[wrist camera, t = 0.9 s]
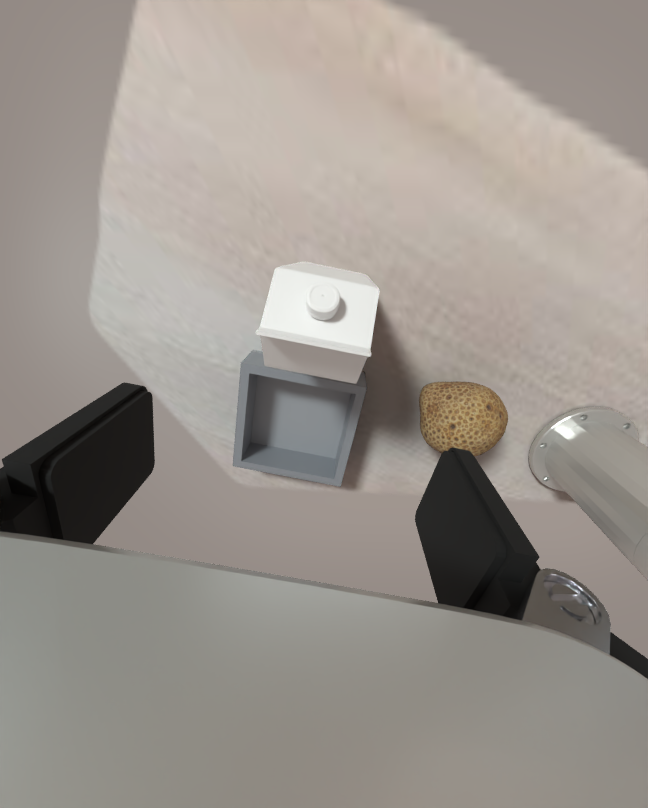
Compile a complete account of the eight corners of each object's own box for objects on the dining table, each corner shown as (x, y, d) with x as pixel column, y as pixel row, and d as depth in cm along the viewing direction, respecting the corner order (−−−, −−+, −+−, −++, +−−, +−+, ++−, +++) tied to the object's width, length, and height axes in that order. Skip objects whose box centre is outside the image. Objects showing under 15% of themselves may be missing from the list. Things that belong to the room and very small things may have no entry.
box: (364, 372, 40) (366, 387, 35) (341, 463, 46) (340, 486, 41) (252, 350, 40) (241, 362, 35) (243, 444, 46) (232, 466, 41)
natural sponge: (473, 433, 43) (507, 482, 34) (405, 429, 43) (421, 476, 34) (492, 368, 39) (536, 404, 30) (417, 364, 39) (438, 397, 30)
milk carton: (352, 337, 38) (358, 407, 21) (293, 325, 38) (250, 386, 21) (366, 273, 35) (387, 294, 18) (302, 260, 35) (261, 269, 18)
